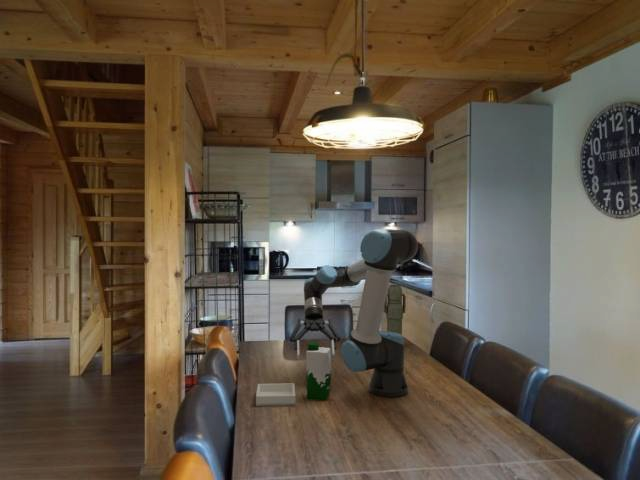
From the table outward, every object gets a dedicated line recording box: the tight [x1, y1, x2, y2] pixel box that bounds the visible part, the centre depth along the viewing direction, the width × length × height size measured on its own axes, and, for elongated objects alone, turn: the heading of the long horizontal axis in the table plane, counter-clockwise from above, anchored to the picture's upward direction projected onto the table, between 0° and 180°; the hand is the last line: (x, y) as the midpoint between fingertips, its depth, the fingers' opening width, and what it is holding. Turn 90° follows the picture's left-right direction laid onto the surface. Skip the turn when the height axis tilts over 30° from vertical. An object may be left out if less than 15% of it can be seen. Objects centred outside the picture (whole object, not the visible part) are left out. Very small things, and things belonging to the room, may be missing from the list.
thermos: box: [383, 284, 407, 336], centre depth 245 cm, size 9×12×35 cm
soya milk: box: [305, 342, 332, 402], centre depth 174 cm, size 9×9×20 cm
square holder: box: [255, 382, 296, 407], centre depth 171 cm, size 14×14×4 cm
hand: (315, 356), depth 178 cm, fingers open, 13 cm apart
